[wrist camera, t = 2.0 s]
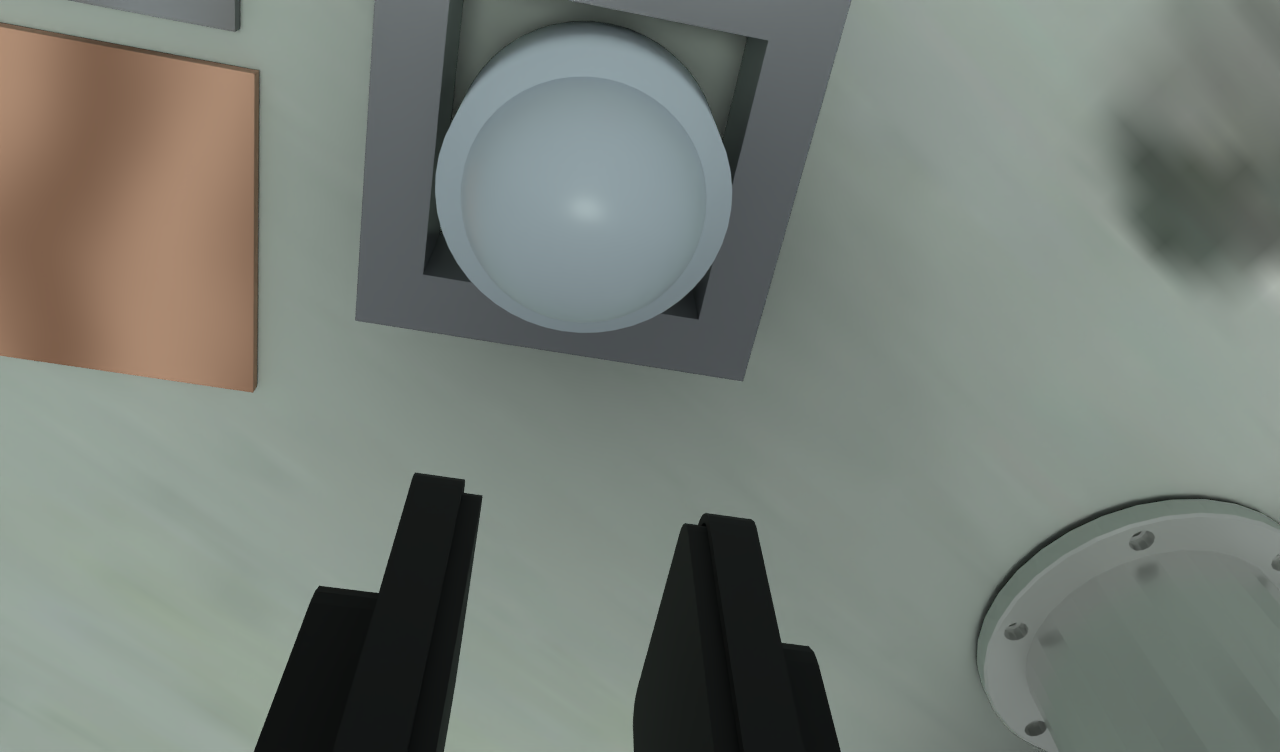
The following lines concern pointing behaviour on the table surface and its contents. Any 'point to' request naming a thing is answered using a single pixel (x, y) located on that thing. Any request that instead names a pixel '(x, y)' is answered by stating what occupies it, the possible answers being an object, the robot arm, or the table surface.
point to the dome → (584, 179)
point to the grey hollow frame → (754, 142)
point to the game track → (130, 203)
